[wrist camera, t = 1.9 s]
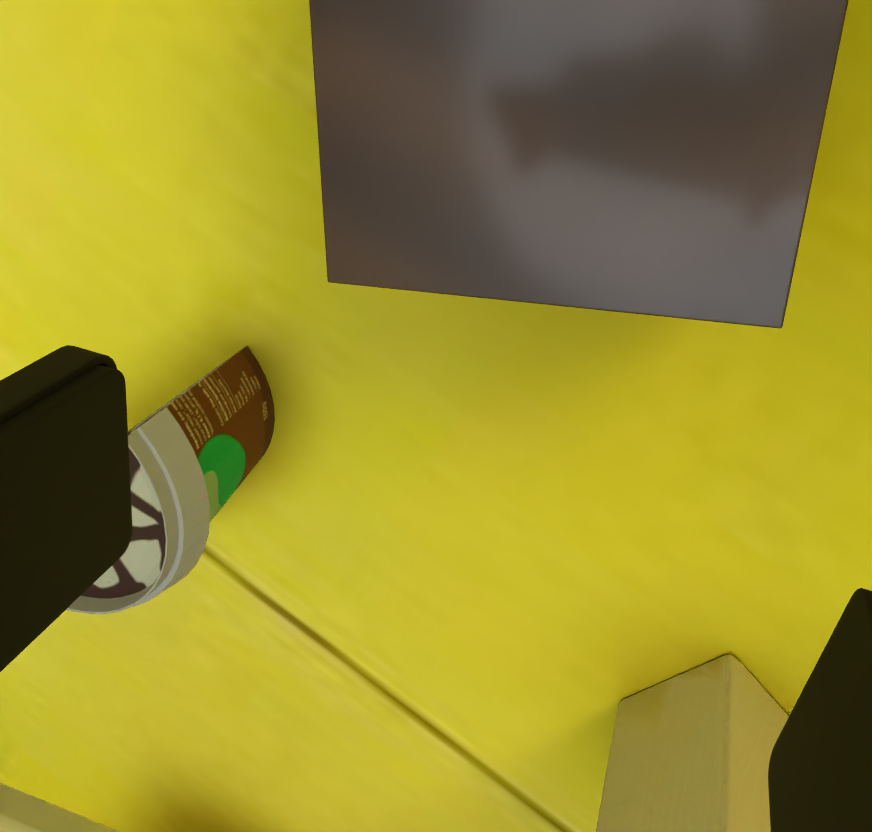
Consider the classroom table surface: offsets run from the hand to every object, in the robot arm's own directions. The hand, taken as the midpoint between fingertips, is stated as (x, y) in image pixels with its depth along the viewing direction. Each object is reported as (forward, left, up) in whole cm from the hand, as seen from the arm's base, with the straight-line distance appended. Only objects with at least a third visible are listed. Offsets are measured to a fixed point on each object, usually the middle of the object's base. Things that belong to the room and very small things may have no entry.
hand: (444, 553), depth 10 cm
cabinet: (+1, -5, -23) cm, 24 cm away
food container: (+18, +14, -23) cm, 33 cm away
